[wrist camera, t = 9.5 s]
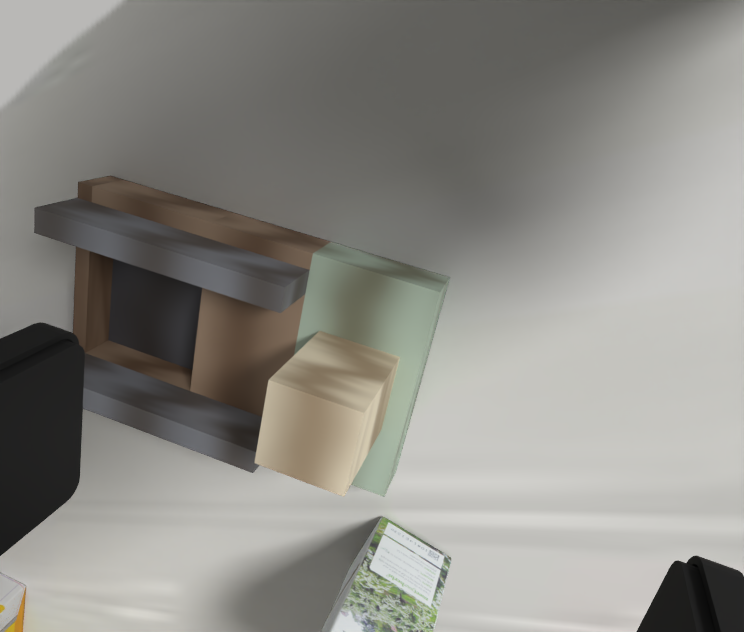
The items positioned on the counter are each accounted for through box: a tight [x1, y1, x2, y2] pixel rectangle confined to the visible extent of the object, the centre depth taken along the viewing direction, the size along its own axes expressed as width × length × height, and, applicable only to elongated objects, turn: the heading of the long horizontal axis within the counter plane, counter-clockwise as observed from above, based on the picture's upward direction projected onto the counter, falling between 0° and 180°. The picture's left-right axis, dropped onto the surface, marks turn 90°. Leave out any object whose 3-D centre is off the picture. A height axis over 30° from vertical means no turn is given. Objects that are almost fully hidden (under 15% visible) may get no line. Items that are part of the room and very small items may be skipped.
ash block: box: [254, 331, 400, 497], centre depth 35 cm, size 5×5×7 cm
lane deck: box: [34, 176, 450, 497], centre depth 40 cm, size 23×14×6 cm, turn 77°
